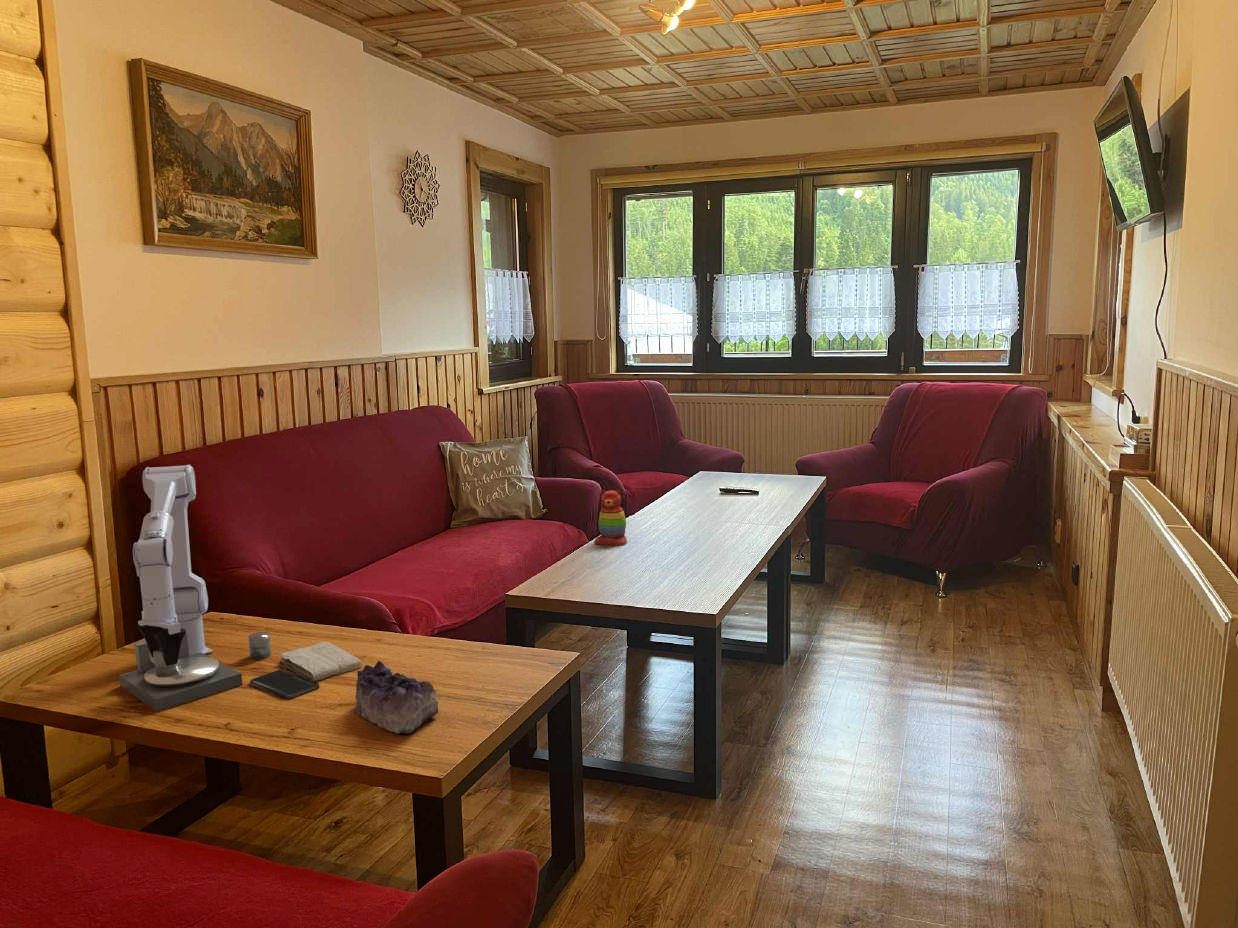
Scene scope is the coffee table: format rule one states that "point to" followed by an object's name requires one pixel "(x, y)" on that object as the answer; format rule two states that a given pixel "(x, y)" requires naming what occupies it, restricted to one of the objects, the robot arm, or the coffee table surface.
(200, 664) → the pan
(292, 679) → the phone
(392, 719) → the geode
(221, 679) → the scale
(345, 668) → the washcloth
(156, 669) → the cylinder
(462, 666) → the coffee table surface
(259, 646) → the cylinder
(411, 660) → the coffee table surface
